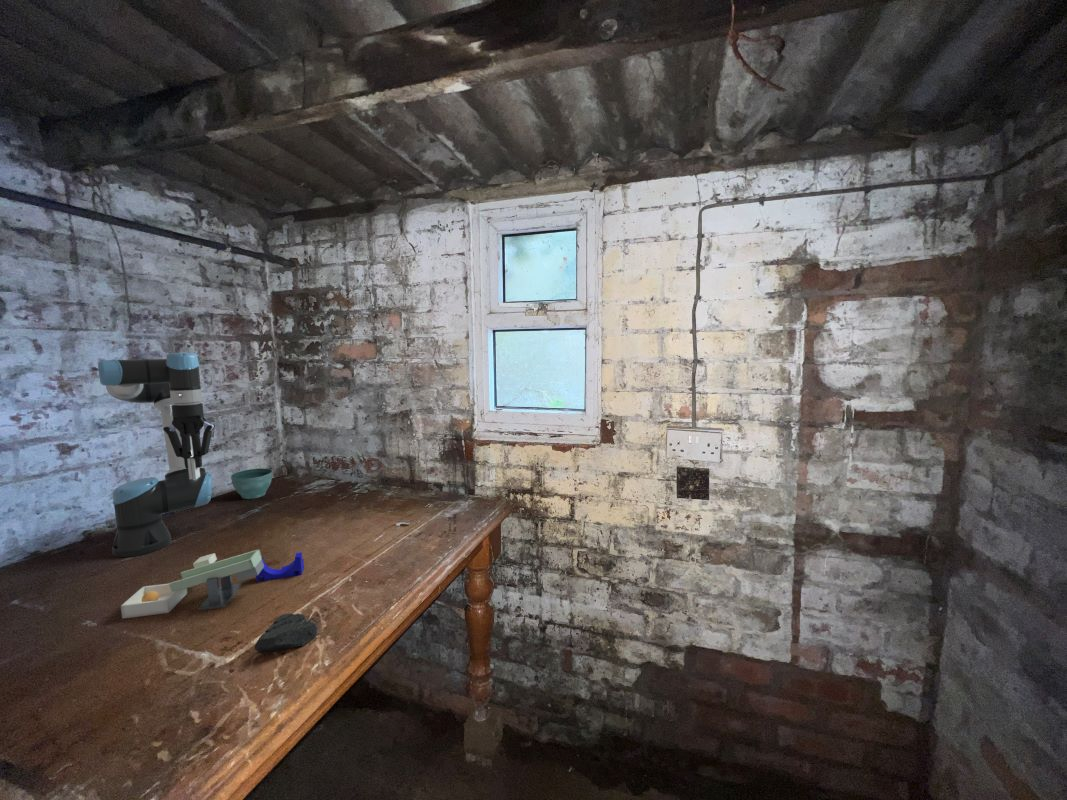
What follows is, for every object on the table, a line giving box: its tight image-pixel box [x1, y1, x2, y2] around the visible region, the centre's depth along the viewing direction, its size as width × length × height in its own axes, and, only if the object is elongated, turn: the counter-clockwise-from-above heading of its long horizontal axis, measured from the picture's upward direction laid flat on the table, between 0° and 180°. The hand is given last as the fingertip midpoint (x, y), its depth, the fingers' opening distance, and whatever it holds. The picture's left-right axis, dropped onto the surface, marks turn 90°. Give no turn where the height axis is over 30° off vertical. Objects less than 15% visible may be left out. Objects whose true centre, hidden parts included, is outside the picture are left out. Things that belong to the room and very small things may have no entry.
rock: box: [253, 613, 318, 654], centre depth 101 cm, size 10×6×10 cm
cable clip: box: [255, 551, 305, 583], centre depth 131 cm, size 12×4×6 cm, turn 110°
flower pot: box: [230, 467, 273, 500], centre depth 199 cm, size 16×16×11 cm
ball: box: [142, 591, 159, 602], centre depth 115 cm, size 4×4×4 cm
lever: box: [168, 549, 264, 592], centre depth 123 cm, size 20×14×5 cm
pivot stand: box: [198, 575, 242, 611], centre depth 119 cm, size 6×11×8 cm, turn 14°
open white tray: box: [120, 583, 188, 620], centre depth 116 cm, size 10×9×4 cm
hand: (194, 477), depth 135 cm, fingers closed
